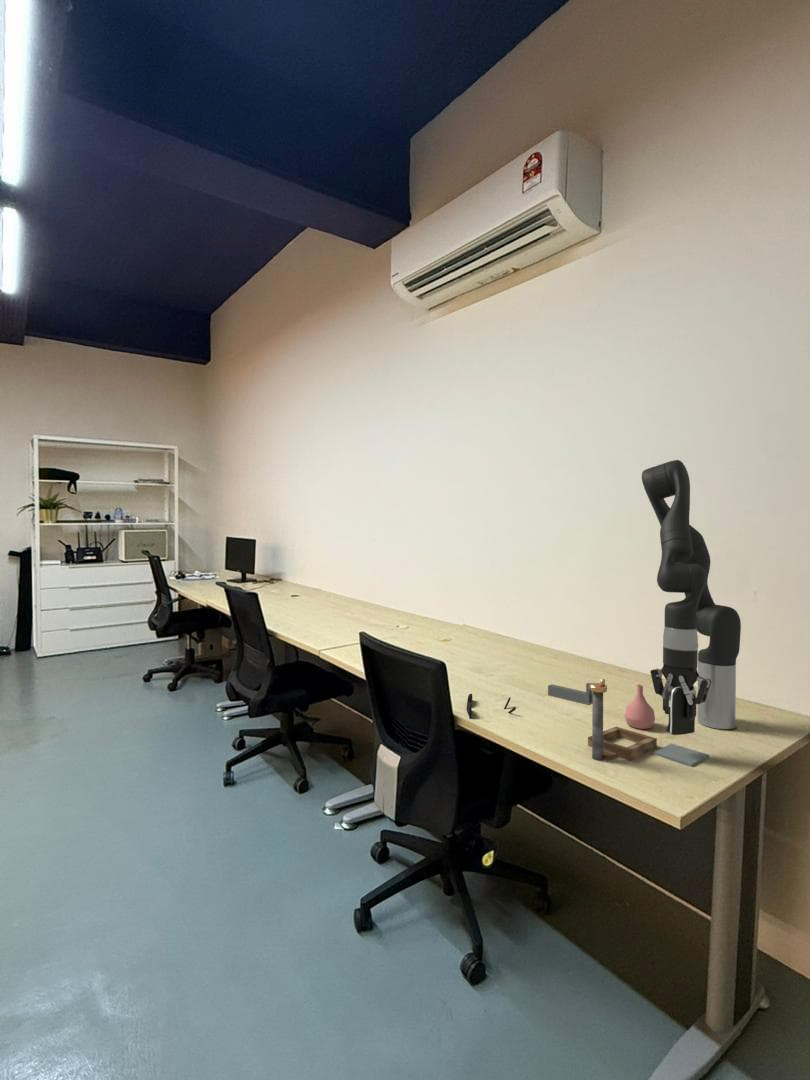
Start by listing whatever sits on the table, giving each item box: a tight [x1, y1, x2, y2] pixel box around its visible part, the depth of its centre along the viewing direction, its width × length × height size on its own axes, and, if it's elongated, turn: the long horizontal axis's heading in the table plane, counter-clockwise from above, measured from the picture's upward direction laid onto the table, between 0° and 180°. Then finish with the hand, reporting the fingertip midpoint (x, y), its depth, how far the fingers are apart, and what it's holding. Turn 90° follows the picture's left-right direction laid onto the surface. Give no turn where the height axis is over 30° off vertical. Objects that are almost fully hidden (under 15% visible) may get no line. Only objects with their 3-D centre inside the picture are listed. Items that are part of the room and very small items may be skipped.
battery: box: [664, 685, 697, 736], centre depth 133 cm, size 7×4×11 cm, turn 109°
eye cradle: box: [587, 692, 658, 762], centre depth 136 cm, size 19×11×16 cm, turn 129°
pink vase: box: [624, 684, 656, 730], centre depth 152 cm, size 8×8×12 cm
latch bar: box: [547, 678, 608, 706], centre depth 135 cm, size 15×4×7 cm, turn 43°
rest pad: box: [653, 743, 710, 767], centre depth 133 cm, size 9×9×1 cm
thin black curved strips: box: [466, 693, 516, 720], centre depth 163 cm, size 17×14×5 cm
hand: (679, 716), depth 133 cm, fingers closed on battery, 4 cm apart
